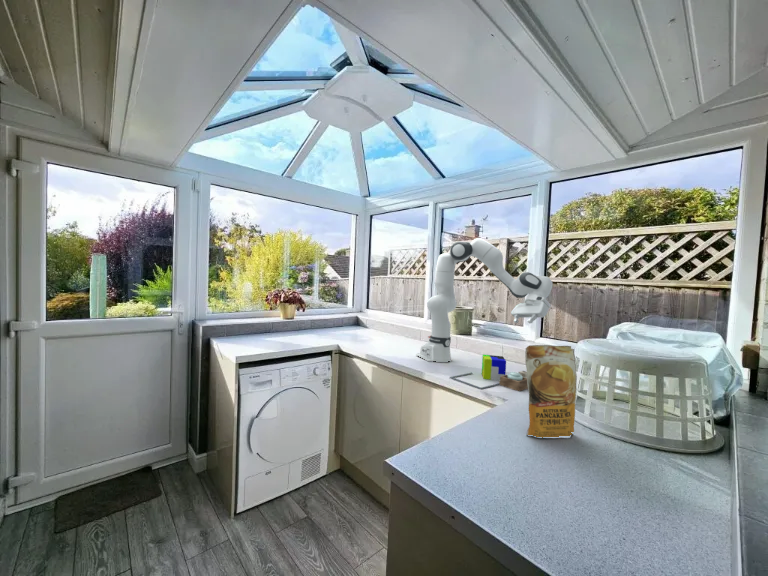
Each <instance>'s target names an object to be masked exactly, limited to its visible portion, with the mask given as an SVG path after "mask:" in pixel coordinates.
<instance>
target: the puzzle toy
mask: <svg viewBox="0 0 768 576" xmlns="http://www.w3.org/2000/svg"><path fill="white" fill-rule="evenodd" d="M481 358H482V362H481V375H482V378H483V380H488V381H489V380H490V381H498V382H499V381H500V376H505V375H507V371H506V370H507V360H506V359H505V358H504V356H501V355H492V354H491V355H490V354H482V357H481Z"/></svg>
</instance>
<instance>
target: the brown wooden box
mask: <svg viewBox="0 0 768 576" xmlns="http://www.w3.org/2000/svg"><path fill="white" fill-rule="evenodd" d="M517 373H520V375H522V376H523V379H522V380H520V381H516V380H512V379H509V378H508V374H505V376H500V381H498V383H499V384H500V385H499V386H502V387H505V388H507V389H511V390H513V391H517V392H521V391H525V390H528V386H527V370H526V371H525V370H520V371H517Z"/></svg>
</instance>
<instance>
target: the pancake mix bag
mask: <svg viewBox="0 0 768 576" xmlns="http://www.w3.org/2000/svg"><path fill="white" fill-rule="evenodd" d="M525 367H526V372H527V386H528V389H527V391H528V414H529V424H528V429H527V431H526V436H527V435H533V436H536V437H542V438H543V437H559V436H570V435H572V433H571V432H574V433H575V421H576V420H575V419H576V418H575V417H576V401H577V390H578V389H577V388H578V387H577V379H578V377H577V367H576V356H575V350H574V348H572V346H571V345H550V344H549V345H548V344H546V345H545V344H544V345H543V344H542V345H541V344H535V345H533V344H532V345H528V346H527V347H525ZM572 436H573V435H572Z"/></svg>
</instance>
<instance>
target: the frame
mask: <svg viewBox="0 0 768 576" xmlns="http://www.w3.org/2000/svg"><path fill="white" fill-rule="evenodd" d="M469 375H474V374H473V372H467V373H466V372H465V373H462V374H458V375H452V376H449V377H450V378H452V379H451V380H454V381H457V382H460V383H461V384H465V385H467V386H469V387H473V388H474V389H475V388H476V389H478V390H480V391H481V390H486V389H490V388H493V387H496V386H501V385H500V384H499V382H497V383H494V384H489V385H486V386H478V385H474V384H473V383H470V382H467V381H464V380H461V379H458V378H459V377H465V376H469ZM455 377H456V378H455ZM450 378H449V379H450Z"/></svg>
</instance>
